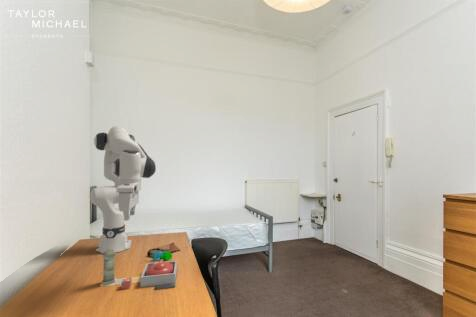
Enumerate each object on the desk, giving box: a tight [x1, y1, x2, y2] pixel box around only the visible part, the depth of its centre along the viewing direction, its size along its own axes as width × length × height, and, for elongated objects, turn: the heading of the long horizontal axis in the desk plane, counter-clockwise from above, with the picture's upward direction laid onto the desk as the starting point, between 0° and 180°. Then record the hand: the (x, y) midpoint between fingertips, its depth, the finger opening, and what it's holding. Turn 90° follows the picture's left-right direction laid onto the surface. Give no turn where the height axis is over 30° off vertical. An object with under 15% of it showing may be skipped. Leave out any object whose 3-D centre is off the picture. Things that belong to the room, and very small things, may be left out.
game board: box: [99, 260, 178, 291], centre depth 98 cm, size 16×31×5 cm, turn 102°
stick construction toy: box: [150, 247, 173, 262], centre depth 120 cm, size 12×7×8 cm
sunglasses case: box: [146, 242, 181, 260], centre depth 131 cm, size 18×7×7 cm
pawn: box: [101, 249, 116, 286], centre depth 95 cm, size 5×5×14 cm
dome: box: [147, 261, 173, 276], centre depth 100 cm, size 11×11×6 cm
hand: (129, 217), depth 98 cm, fingers open, 8 cm apart
